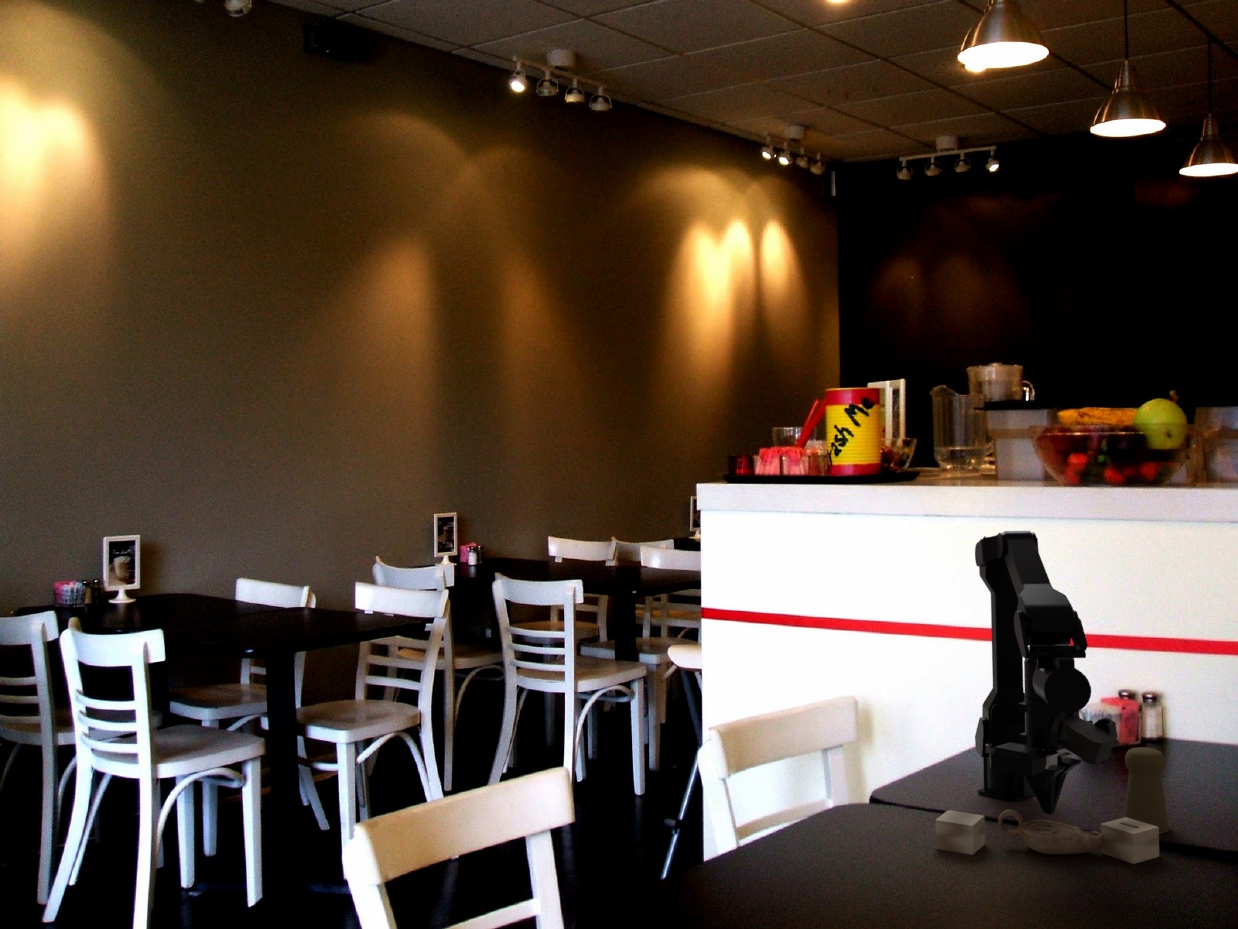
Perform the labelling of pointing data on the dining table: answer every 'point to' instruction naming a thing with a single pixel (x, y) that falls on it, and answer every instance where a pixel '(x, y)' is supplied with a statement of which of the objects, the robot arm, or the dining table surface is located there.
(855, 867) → the dining table surface
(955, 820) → the beech block left
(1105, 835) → the beech block right
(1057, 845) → the oil lamp
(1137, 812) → the pepper shaker
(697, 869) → the dining table surface
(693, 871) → the dining table surface
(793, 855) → the dining table surface
